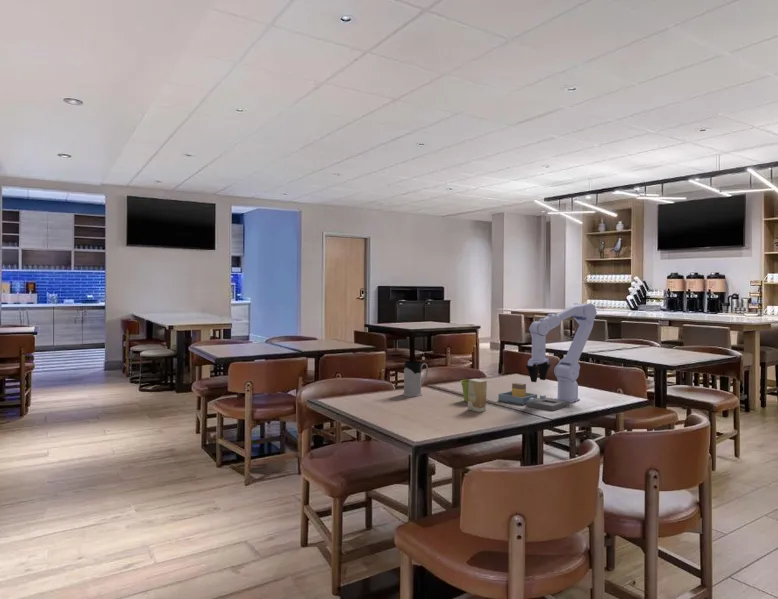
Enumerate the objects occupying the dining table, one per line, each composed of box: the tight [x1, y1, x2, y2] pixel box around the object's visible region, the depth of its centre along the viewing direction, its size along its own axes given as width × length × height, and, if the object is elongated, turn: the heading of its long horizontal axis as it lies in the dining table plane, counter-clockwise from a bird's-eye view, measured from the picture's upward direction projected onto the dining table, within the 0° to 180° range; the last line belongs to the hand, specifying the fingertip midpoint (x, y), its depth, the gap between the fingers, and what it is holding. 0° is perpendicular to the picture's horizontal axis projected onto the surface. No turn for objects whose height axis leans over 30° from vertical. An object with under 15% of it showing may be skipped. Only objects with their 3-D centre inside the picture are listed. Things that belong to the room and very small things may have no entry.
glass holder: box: [402, 360, 429, 398], centre depth 252 cm, size 9×14×15 cm, turn 132°
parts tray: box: [497, 390, 538, 406], centre depth 238 cm, size 12×12×3 cm
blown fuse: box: [511, 382, 527, 398], centre depth 238 cm, size 3×5×7 cm, turn 46°
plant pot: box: [460, 379, 470, 403], centre depth 237 cm, size 9×9×9 cm
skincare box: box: [467, 378, 488, 413], centre depth 219 cm, size 6×4×12 cm
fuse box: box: [525, 394, 570, 412], centre depth 228 cm, size 14×12×3 cm
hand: (538, 381), depth 235 cm, fingers open, 7 cm apart
